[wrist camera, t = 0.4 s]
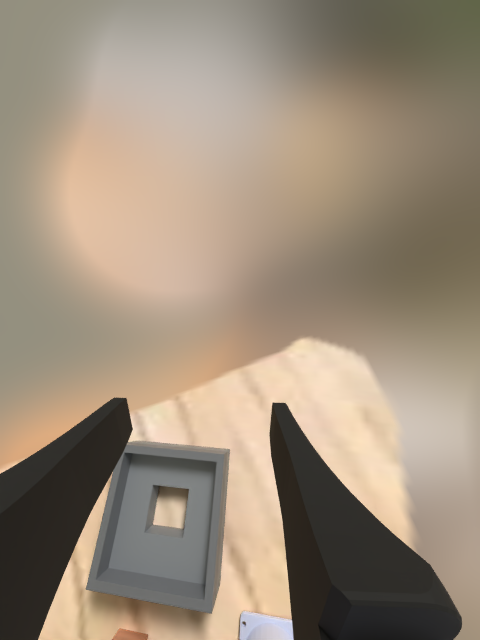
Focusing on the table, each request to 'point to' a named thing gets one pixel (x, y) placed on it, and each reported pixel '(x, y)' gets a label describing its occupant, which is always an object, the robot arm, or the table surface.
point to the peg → (129, 635)
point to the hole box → (163, 527)
